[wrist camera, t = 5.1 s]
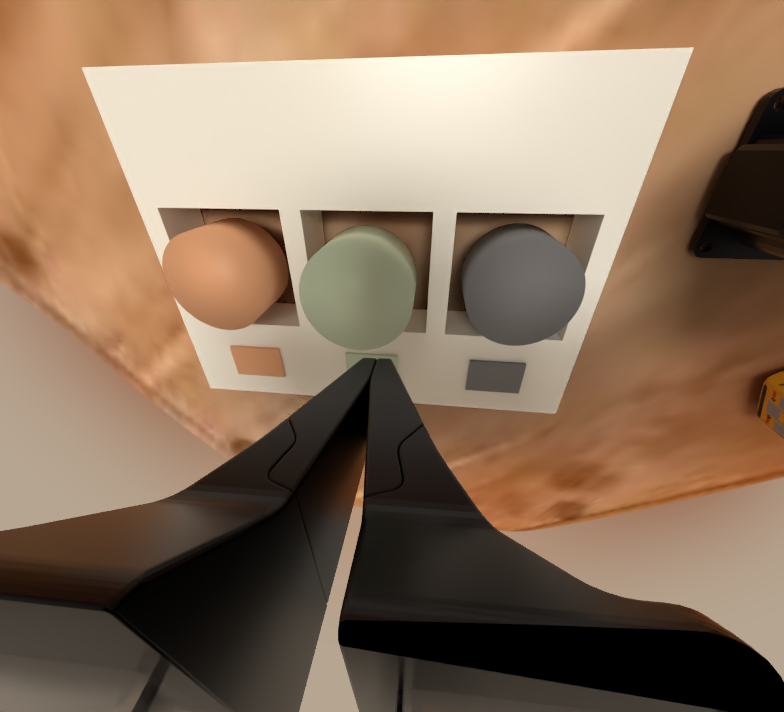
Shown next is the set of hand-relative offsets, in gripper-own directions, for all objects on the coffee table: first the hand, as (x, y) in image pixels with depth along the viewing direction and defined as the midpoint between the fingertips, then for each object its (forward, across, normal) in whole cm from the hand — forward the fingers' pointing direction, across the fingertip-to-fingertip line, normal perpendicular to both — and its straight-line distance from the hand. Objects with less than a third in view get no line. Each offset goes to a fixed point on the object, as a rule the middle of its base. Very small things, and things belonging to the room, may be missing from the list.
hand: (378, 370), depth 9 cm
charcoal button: (+8, -6, 0) cm, 10 cm away
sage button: (+8, +2, 0) cm, 8 cm away
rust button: (+9, +8, 0) cm, 12 cm away
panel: (+10, +1, 0) cm, 11 cm away
